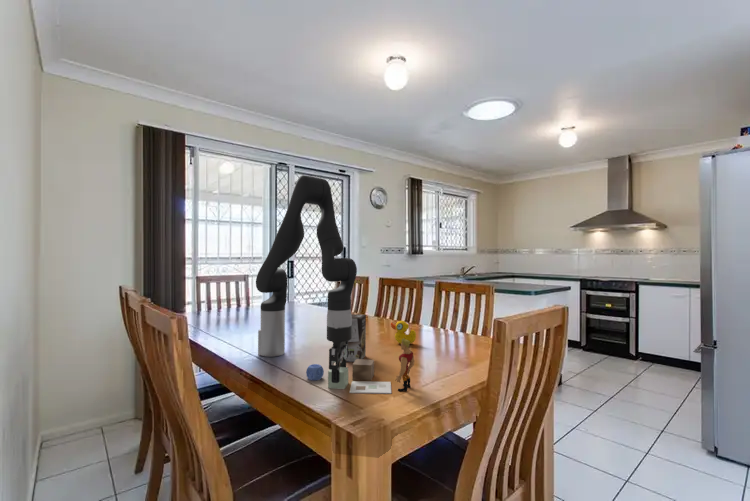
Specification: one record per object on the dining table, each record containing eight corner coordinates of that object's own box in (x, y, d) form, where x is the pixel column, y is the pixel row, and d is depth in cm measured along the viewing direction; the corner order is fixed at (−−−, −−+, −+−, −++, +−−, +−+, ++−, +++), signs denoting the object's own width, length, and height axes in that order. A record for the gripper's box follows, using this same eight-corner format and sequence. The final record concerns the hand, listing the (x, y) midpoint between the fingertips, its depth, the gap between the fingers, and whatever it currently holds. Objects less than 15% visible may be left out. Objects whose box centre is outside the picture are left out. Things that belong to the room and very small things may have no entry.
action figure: (404, 382, 120) (404, 334, 120) (415, 384, 118) (415, 335, 118) (393, 393, 111) (393, 341, 111) (405, 395, 110) (405, 342, 110)
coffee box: (360, 362, 141) (361, 318, 141) (343, 361, 142) (343, 317, 142) (366, 355, 150) (366, 314, 150) (350, 354, 151) (350, 313, 151)
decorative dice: (315, 375, 126) (315, 363, 126) (323, 378, 124) (323, 365, 124) (305, 378, 123) (306, 366, 123) (314, 381, 121) (314, 368, 121)
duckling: (388, 344, 168) (388, 321, 168) (392, 341, 173) (392, 319, 173) (414, 346, 165) (414, 323, 164) (417, 343, 170) (417, 320, 170)
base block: (352, 380, 122) (352, 364, 122) (356, 374, 128) (356, 358, 128) (371, 381, 122) (371, 365, 122) (373, 375, 127) (374, 359, 127)
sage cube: (328, 388, 115) (328, 371, 115) (332, 382, 120) (332, 366, 120) (344, 389, 114) (344, 372, 114) (348, 383, 119) (348, 367, 119)
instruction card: (349, 393, 111) (349, 391, 111) (352, 382, 120) (352, 381, 120) (391, 393, 111) (391, 392, 111) (390, 382, 120) (390, 381, 120)
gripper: (333, 319, 125) (333, 370, 125) (320, 328, 110) (320, 385, 110) (356, 320, 123) (356, 371, 123) (345, 329, 109) (345, 386, 109)
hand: (339, 377), depth 117 cm, fingers open, 8 cm apart
